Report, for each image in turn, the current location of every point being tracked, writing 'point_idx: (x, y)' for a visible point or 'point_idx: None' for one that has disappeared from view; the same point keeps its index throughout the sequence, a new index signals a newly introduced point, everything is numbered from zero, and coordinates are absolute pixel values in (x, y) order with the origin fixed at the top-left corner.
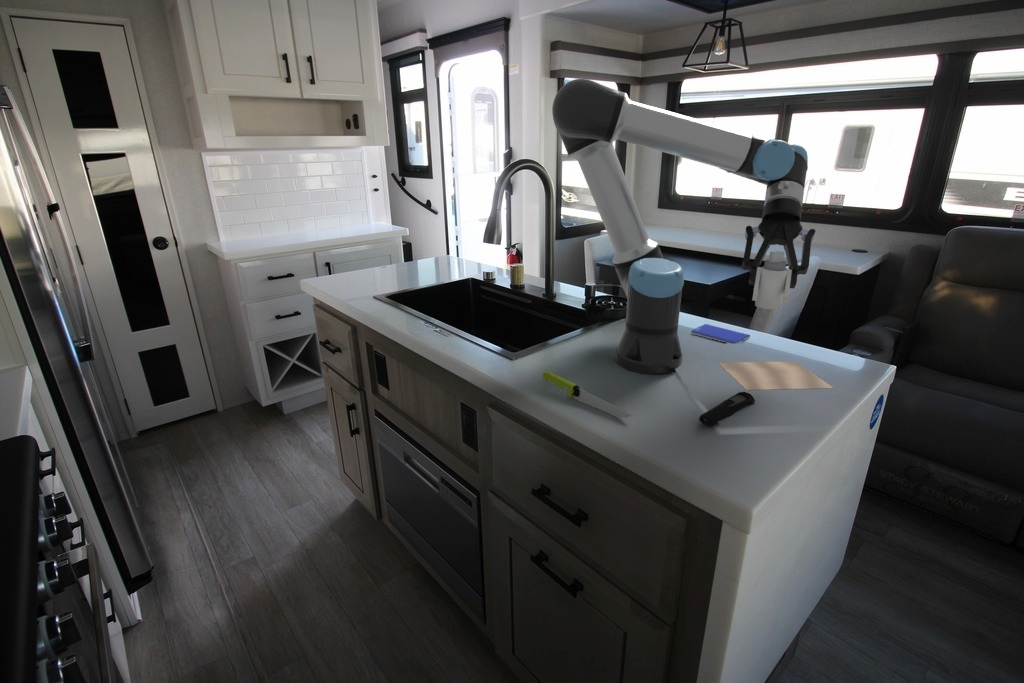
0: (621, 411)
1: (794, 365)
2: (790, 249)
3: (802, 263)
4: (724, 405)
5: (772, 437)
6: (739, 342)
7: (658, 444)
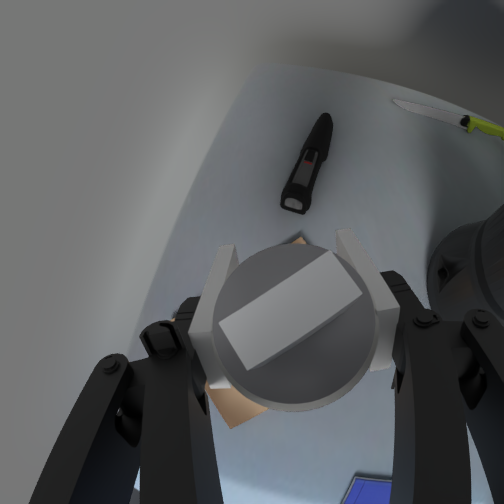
0: (406, 103)
1: (231, 404)
2: (173, 493)
3: (120, 378)
4: (312, 142)
5: (249, 142)
6: (348, 491)
7: (348, 87)
